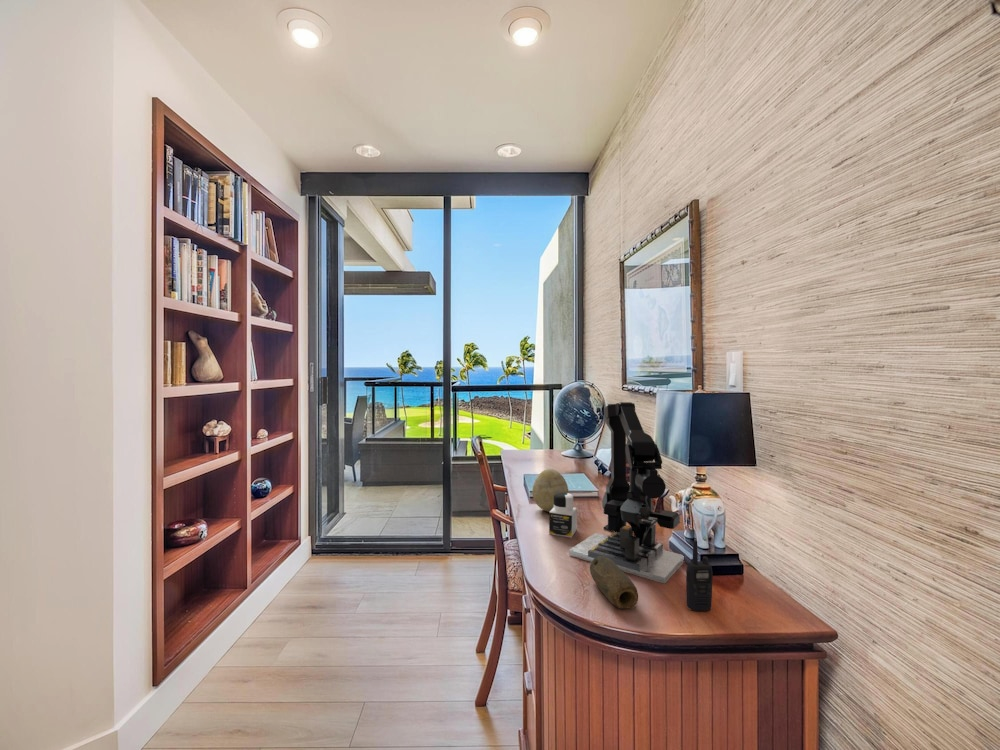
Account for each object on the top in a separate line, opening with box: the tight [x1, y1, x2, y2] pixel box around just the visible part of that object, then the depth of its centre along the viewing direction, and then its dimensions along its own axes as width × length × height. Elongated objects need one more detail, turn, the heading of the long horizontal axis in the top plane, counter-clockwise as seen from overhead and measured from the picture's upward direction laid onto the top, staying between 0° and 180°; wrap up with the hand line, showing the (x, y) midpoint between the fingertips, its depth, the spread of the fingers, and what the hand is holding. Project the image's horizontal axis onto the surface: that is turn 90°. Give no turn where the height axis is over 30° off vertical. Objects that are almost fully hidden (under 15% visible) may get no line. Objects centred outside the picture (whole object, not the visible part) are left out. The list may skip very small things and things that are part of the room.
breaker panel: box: [568, 523, 684, 584], centre depth 124 cm, size 17×26×8 cm, turn 52°
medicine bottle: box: [548, 492, 578, 538], centre depth 143 cm, size 7×7×12 cm
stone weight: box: [589, 556, 639, 609], centre depth 105 cm, size 15×7×7 cm, turn 15°
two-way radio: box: [685, 539, 714, 612], centre depth 100 cm, size 6×4×15 cm
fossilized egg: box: [531, 468, 569, 512], centre depth 164 cm, size 13×13×15 cm
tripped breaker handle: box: [620, 525, 634, 548], centre depth 124 cm, size 3×2×5 cm
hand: (640, 545), depth 122 cm, fingers closed
